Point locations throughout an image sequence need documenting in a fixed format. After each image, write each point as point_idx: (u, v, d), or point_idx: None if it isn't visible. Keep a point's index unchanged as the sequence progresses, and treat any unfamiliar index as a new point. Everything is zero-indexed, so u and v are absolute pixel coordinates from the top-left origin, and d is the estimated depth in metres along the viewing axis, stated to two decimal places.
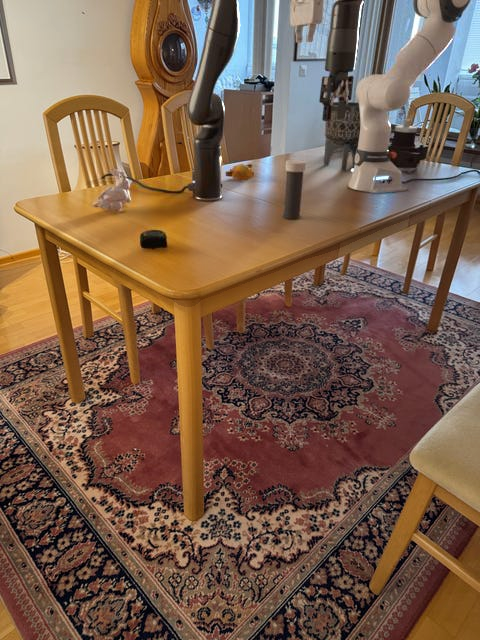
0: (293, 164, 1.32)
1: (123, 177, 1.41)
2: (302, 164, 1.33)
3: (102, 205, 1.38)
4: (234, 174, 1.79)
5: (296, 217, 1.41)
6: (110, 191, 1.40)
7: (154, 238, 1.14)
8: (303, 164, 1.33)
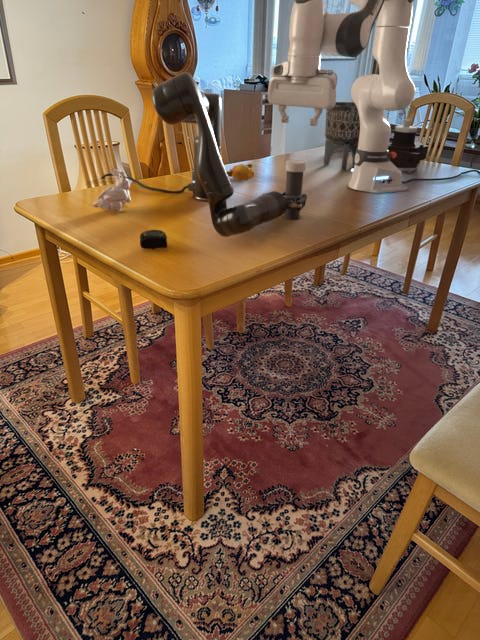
0: (293, 164, 1.32)
1: (123, 177, 1.41)
2: (302, 164, 1.33)
3: (102, 205, 1.38)
4: (234, 174, 1.79)
5: (296, 217, 1.41)
6: (110, 191, 1.40)
7: (154, 238, 1.14)
8: (303, 164, 1.33)
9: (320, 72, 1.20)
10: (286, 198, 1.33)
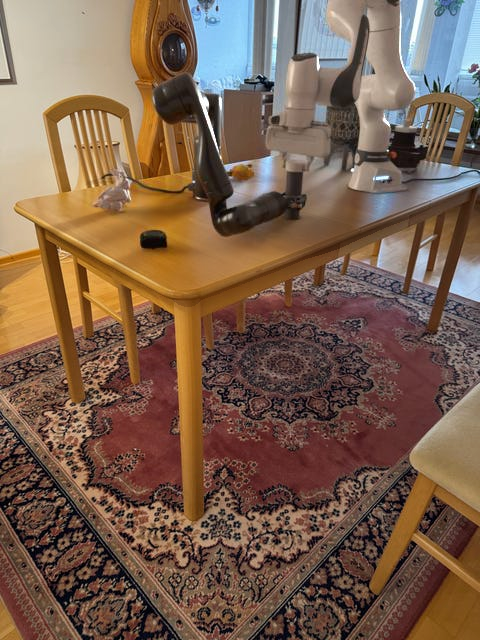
0: (293, 164, 1.32)
1: (123, 177, 1.41)
2: (302, 164, 1.33)
3: (102, 205, 1.38)
4: (234, 174, 1.79)
5: (296, 217, 1.41)
6: (110, 191, 1.40)
7: (154, 238, 1.14)
8: (303, 164, 1.33)
9: (315, 123, 1.26)
10: (286, 198, 1.33)
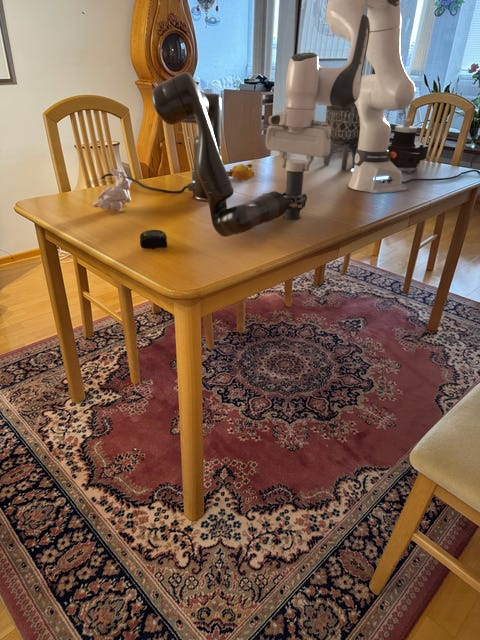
0: (304, 163, 1.33)
1: (123, 177, 1.41)
2: None
3: (102, 205, 1.38)
4: (234, 174, 1.79)
5: (296, 217, 1.41)
6: (110, 191, 1.40)
7: (154, 238, 1.14)
8: None
9: (315, 123, 1.26)
10: (286, 198, 1.33)
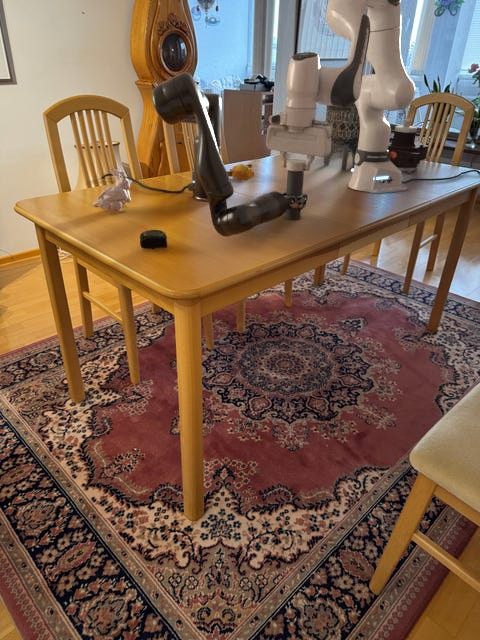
0: None
1: (123, 177, 1.41)
2: None
3: (102, 205, 1.38)
4: (234, 174, 1.79)
5: (297, 217, 1.41)
6: (110, 191, 1.40)
7: (154, 238, 1.14)
8: None
9: (316, 123, 1.26)
10: (287, 198, 1.33)
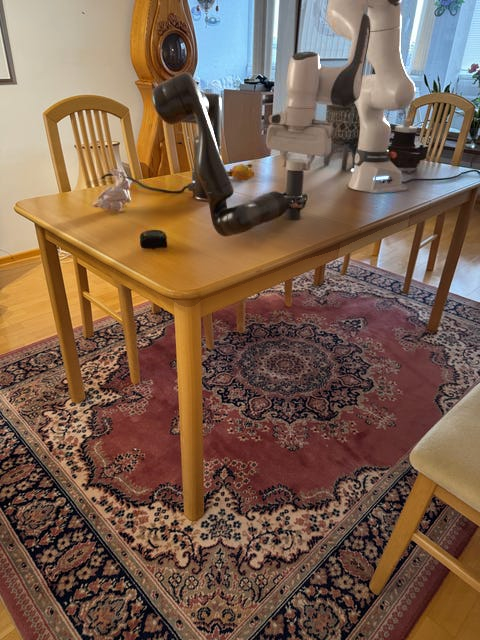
0: None
1: (123, 177, 1.41)
2: None
3: (102, 205, 1.38)
4: (234, 174, 1.79)
5: (297, 217, 1.41)
6: (110, 191, 1.40)
7: (154, 238, 1.14)
8: None
9: (316, 122, 1.26)
10: (286, 198, 1.33)
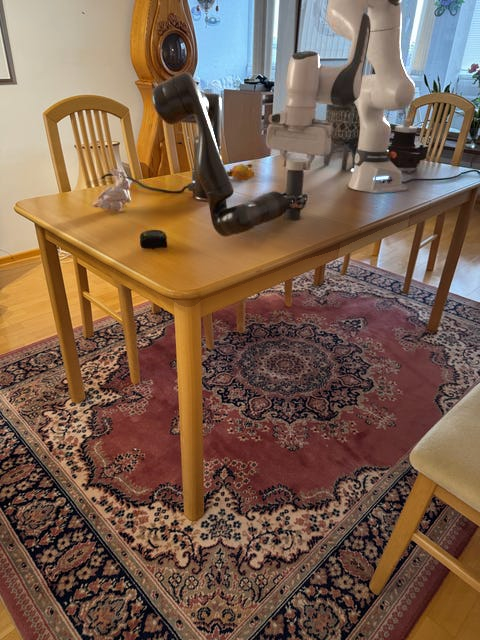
0: None
1: (123, 177, 1.41)
2: (289, 162, 1.33)
3: (102, 205, 1.38)
4: (234, 174, 1.79)
5: (297, 217, 1.41)
6: (110, 191, 1.40)
7: (154, 238, 1.14)
8: (290, 162, 1.32)
9: (316, 122, 1.26)
10: (286, 198, 1.33)
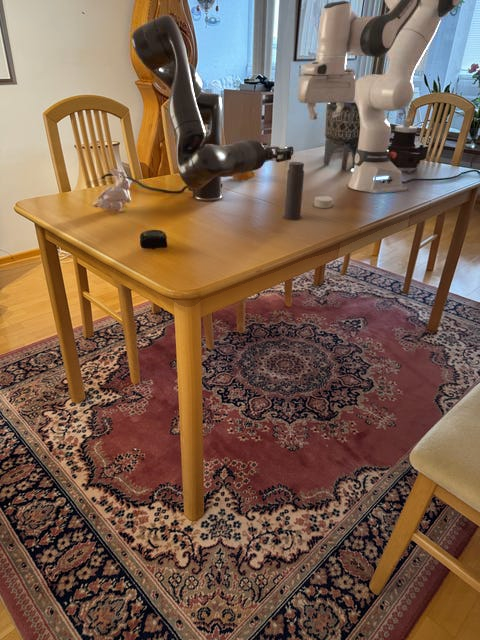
0: (329, 201, 1.52)
1: (123, 177, 1.41)
2: None
3: (102, 205, 1.38)
4: None
5: (297, 217, 1.41)
6: (110, 191, 1.40)
7: (154, 238, 1.14)
8: None
9: (345, 70, 1.36)
10: (265, 148, 1.17)
